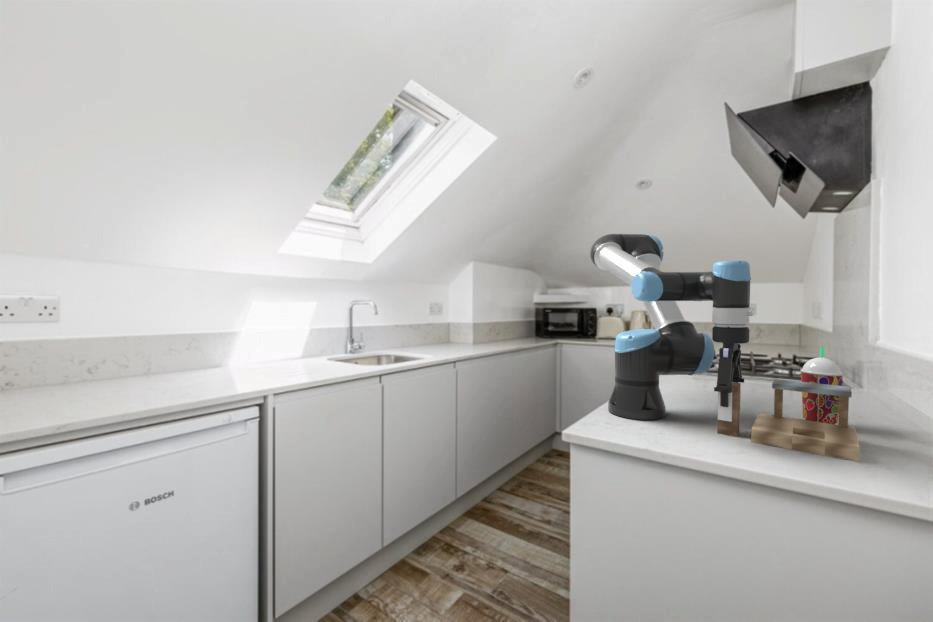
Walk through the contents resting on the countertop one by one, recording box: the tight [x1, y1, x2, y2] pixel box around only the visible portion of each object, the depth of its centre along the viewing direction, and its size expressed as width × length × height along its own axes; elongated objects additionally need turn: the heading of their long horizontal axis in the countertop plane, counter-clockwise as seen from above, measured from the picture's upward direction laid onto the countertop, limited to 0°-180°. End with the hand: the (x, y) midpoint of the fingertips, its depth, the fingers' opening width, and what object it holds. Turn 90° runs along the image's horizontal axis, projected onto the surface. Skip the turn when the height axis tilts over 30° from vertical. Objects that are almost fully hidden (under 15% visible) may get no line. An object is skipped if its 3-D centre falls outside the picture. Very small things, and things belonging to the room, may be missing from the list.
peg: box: [716, 382, 741, 438], centre depth 102 cm, size 4×4×12 cm
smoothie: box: [800, 346, 844, 425], centre depth 108 cm, size 8×8×20 cm
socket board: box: [750, 378, 861, 463], centre depth 96 cm, size 18×16×12 cm
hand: (729, 414), depth 102 cm, fingers open, 13 cm apart
